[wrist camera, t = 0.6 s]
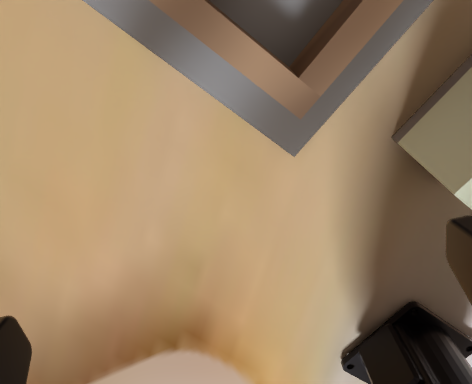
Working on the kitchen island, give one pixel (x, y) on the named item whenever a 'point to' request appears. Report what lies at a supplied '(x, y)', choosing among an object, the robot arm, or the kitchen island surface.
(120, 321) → the kitchen island surface
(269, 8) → the socket
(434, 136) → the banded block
